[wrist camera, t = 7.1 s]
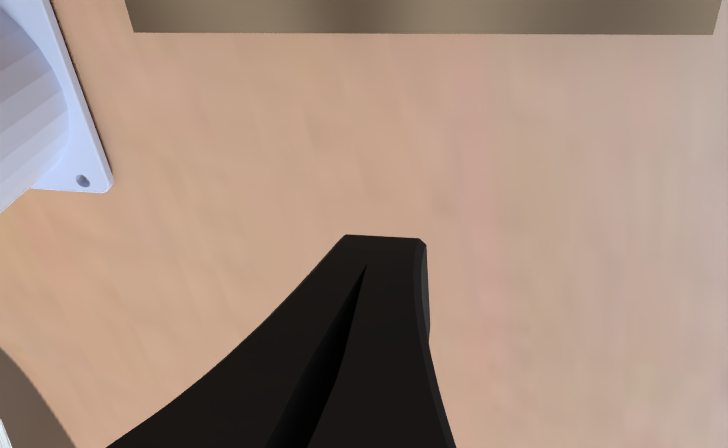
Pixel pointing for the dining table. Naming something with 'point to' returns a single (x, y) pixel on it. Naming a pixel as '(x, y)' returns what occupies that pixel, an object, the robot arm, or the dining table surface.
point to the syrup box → (4, 437)
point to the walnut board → (426, 16)
